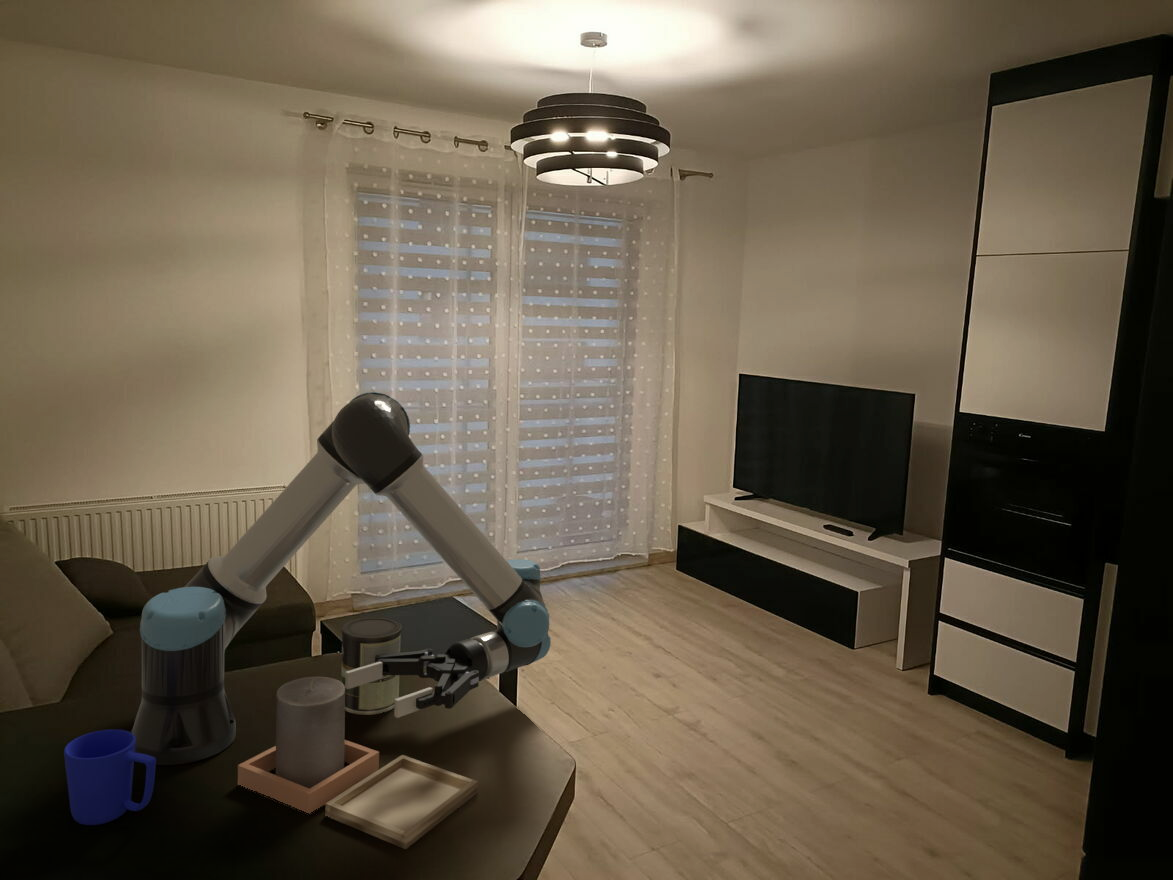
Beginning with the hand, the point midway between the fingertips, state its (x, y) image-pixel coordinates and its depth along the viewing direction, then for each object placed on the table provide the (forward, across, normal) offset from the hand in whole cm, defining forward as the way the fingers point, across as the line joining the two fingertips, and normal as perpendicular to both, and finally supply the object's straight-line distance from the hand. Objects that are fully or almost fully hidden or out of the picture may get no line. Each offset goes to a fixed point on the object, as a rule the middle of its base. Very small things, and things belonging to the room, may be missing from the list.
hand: (370, 694), depth 129 cm
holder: (+10, 0, -10) cm, 14 cm away
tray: (+4, -15, -10) cm, 18 cm away
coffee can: (-11, +16, -10) cm, 22 cm away
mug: (+34, +8, -10) cm, 36 cm away
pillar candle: (+10, 0, -10) cm, 14 cm away
